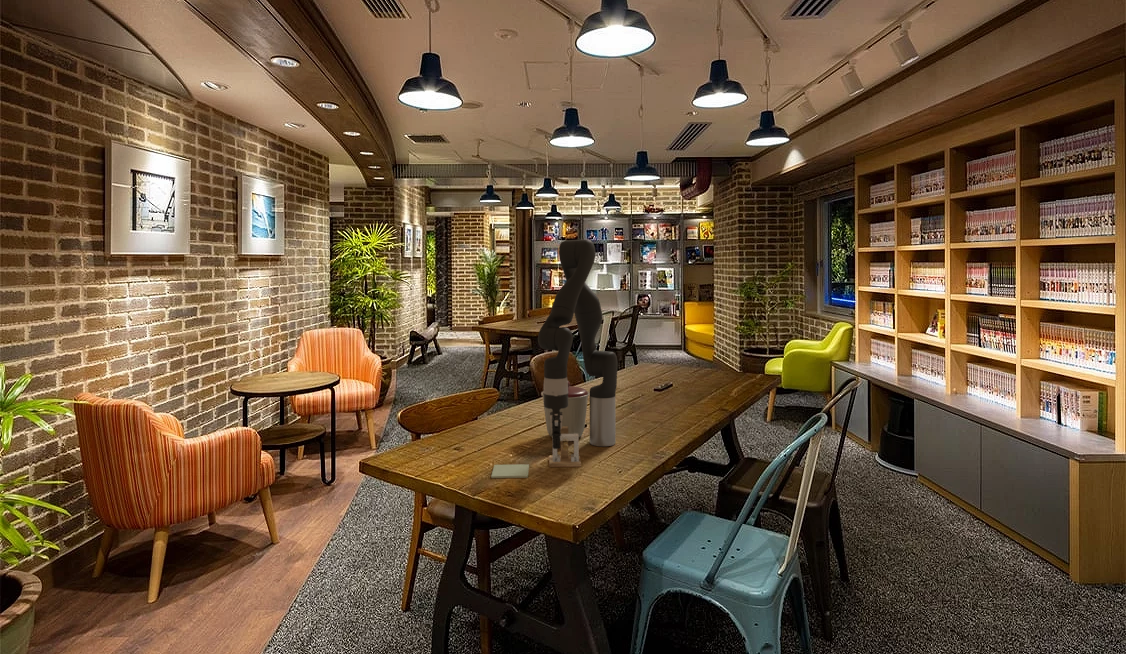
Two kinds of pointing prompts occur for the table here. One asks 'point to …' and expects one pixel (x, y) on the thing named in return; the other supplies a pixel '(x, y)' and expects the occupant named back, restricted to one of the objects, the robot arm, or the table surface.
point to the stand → (564, 455)
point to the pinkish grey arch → (576, 447)
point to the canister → (571, 411)
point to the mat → (510, 471)
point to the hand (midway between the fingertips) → (556, 446)
